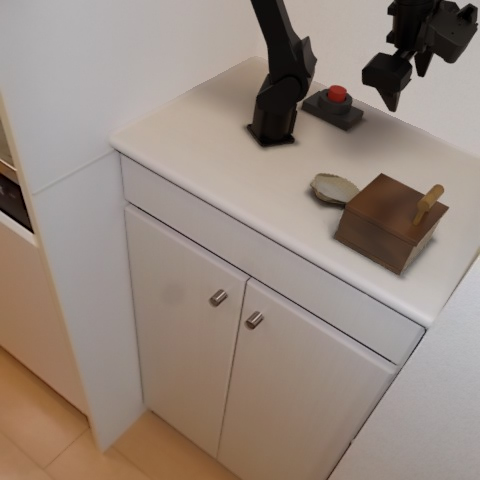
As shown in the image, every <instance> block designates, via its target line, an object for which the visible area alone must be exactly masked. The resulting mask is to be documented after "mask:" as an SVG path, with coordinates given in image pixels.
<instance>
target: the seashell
mask: <svg viewBox="0 0 480 480" xmlns="http://www.w3.org/2000/svg"><path fill="white" fill-rule="evenodd" d="M309 187H311V188H312V189H313V190H314V193H315V195H316V197H317V198H318V199H320V200H321V201H324V202H326V203H332V204H339V205H340V204H342V205H344V204H345V205H346V204H347V203H348V202H349V201H350V200H351V199H352V198H353V197H355V196H356V195H357V194H358V193H359V192H360V191H361V190H360V188H358V187H357V185H355V183H354V182H351V181H350V180H348V179H347V178H343V177H342V176H339V175H337V174H336V175H335V174H333V173H331V174H330V173H326V172H319V173H317V174H315V176H314V179H313V180H312V181H311V182H310V183H309Z"/></svg>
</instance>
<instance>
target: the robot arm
mask: <svg viewBox="0 0 480 480" xmlns="http://www.w3.org/2000/svg"><path fill="white" fill-rule="evenodd" d="M249 1H250V4H251V7H252V9H253V12H254V14H255V17H256V21H257V23H258V25H259V28H260V31H261V34H262V36H263V39H264V42H265V45H266V49H267V66H268V73H267V74H266V75H265V78H264V80H263V82H262V84H261V86H260V88H259V89H258V92H257V93H256V96H255V102H254V109H253V113H252V120H251V123H248V124H246V129H247V130H248V131H249V133H250V134H251V135H252V137H253V138H254V139H255V140H256V141H257V143H258V145H260V146H261V147H263V148H265V147H271V146H277V145H278V146H279V145H286V144H293V143H295V141H296V138H295V137H294V136H293V133H294V131H295V125H296V122H297V117H298V110H297V109H298V103H300V102H303V100H305V99H306V98H307V95H308V93H309V91H310V88H311V85H312V82H313V80H314V78H315V73H316V66H317V63H318V57H316V56H315V54H314V52H313V48H312V42H311V38H310V36H309V35H306V36H305V37H304V38H302V39H301V38H300V36H299V35H298V34H297V33H296V31H295V30H294V28H293V24H292V22H291V19H290V17H289V16H290V15H289V13H288V11H287V10H288V9H287V7H286V4H285V1H284V0H249ZM478 13H479V8H478V6H476V5H474V4H473V3H470V2H469V3H467V4H466V5H464V6H463V7H462V8H460V7H459V5H458V3H457V2H456V1H452V0H393V1H392V2H391V3H390V4H389V5H388V6H387V9H386V15H388V16H390V17H391V16H392V23H391V25H392V28H391V30H390V31H389V32H388V33H387V35H386V36H385V43H386V44H390V45H393V47H394V48H395V49H396V51H395V52H394V53H393V54H390V53H385V52H382V51H381V52H380V51H378V52H377V53H376V54H375V55H373V57H372V58H371V59H370V60H369V61H368V62H367V63H366V64H365V66H364V67H363V68H362V69H361V83H362V85H363V86H367V87H371V88H374V89H375V90H376V91H377V93H378V95H379V96H380V98H381V99H382V101H383V103H384V105H385V107H386V108H387V110H388V111H389V112H391V113H396V112H397V110H398V106H399V103H400V99H401V93H402V91H404V89H406V87H407V86H408V85H409V84H410V83H411V81H412V79H413V78H412V74H413V68H414V67H415V71H416V75H417V77H419V78H425V77H426V75H427V72H428V70H429V67H430V65H431V62H432V60H433V57H434V55H436V56H437V57H439V58H441V59H442V60H443V62H445V63H447V64H448V65H449V64H450V65H453V64H455V63H456V62H457V61H458V59H459V58H460V57H461V55H462V54H463V53H464V52H465V51H466V49H467V47H468V46H469V45H470V43H471V41H472V40H473V37H474V36H475V35H476V33H477V32H478V30H479V28H478V26H479V23H478V22H477V21H478ZM412 59H413V61H414V66H413V64H412V63H411V60H412Z"/></svg>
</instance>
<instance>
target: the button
mask: <svg viewBox="0 0 480 480" xmlns="http://www.w3.org/2000/svg"><path fill="white" fill-rule="evenodd" d="M346 93H348V90H347V88H346V87H344V86H342V85H338V84H333V85H330V86H329V92H328V96H327V97H328V98H329V99H330V100H332V101H336V102H343V101H344V100H345V96H346Z"/></svg>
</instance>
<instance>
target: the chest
mask: <svg viewBox="0 0 480 480" xmlns="http://www.w3.org/2000/svg"><path fill="white" fill-rule="evenodd" d="M441 219H442V218H441ZM441 219H440V220H439V222H438V223H437V224H436V225H435V226H434V227H433V229H432V230H431V231H430V232H429V233H428V234H427V236H426V237H425V238H424V239H423V240H422V241H421V243H420V244H419V245H418V246H417V247H415V246H413V245H411V244H409V243H407V242H406V241H404V240H402V239H400V238H398V237H396V236H395V235H393V234H391V233H389V232H387V231H385V230H383V229H382V228H380V227H378V226H376V225H374V224H372V223H371V222H369V221H367V220H365V219H363V218H361V217H360V216H358V215H356V214H354V213H352V212H350V211H349V210H347V209H345V208H344V209H343V212H342V215H341V217H340V221H339V223H338V226H337V229H336V232H335V235H334V238H333V239H334V240H336V241H338V242H339V243H341V244H343V245H345V246H347V247H348V248H350V249H352V250H354V251H356V252H357V253H359V254H360V255H363V257H366V258H367V259H369V260H371V261H373V262H375V263H376V264H378V265H380V266H381V267H383V268H385V269H386V270H389V271H391V272H392V273H394V274H396V275H397V276H401V275H402V273H404V271H405V270H406V269H407V267H408V266H409V265H410V264H411V263H412V262H413V260H414V259H415V258H416V257H417V256H418V254H419V253H420V252H421V251H422V249H423V248H424V247H425V246H426V245H427V244H428V243H429V241H430V240H431V238H432V237H433V234H434V233H435V231H436V230H437V227H438V225H439V224H440V221H441Z"/></svg>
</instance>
